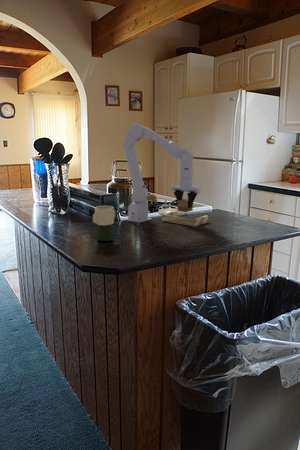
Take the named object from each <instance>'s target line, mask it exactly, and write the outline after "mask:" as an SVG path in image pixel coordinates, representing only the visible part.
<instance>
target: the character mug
mask: <svg viewBox="0 0 300 450" xmlns="http://www.w3.org/2000/svg"><path fill="white" fill-rule="evenodd" d="M115 219H116V210H115V208H114V206H112V205H97V206H95V207H94V214H92V221H93V223H95V224H96V225H98V226H97V231H96V241H101V242H108V241H112V240H114V236H113V235H114V234H113V233H114V232H113V228H112V225H113V224H114V223H115Z"/></svg>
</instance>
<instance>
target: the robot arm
mask: <svg viewBox="0 0 300 450" xmlns="http://www.w3.org/2000/svg"><path fill="white" fill-rule="evenodd" d="M141 139H150V140H152V141H153V142H155V143H157V144H159V145H160V146H162V147H164V148H165V152H166V153H168V154H169V155H171V156H172V157H173V158H175V159H177V160H179V161H180V168H179V185H171V191H173V194H174V197H175V199H176V202H177V203H178V200H181V199H184V198H183V196H184V192H187V193H186V195H187V199H188V208H192V205H193V204H194V201H195V199H196V198H197V196H198V194H200V193H201V188H198V187H193V170H194V169H193V162H194V155H193V153H192V152H191V151H190V150H187V147H183V146H181V145H180V144H179V142H178V141H176V140H175V141H174V140H170V141H169V140H167V138H164V137H163V136H161V135H160V134H158V133H157V132H156V131H154V130H152V129H151V128H149V127H147V126H144V125H142V124H139V123H134V124H132V125H130V127H128V129H127V131H126V134H125V138H124V142H123V149H124V155H125V157H126V161H127V165H128V170H129V175H130V177H131V181H132V182H131V184H132V195H131V196H132V203H130V204H129V205H128V207H127V212H128V213H127V215H128V216H127V219H126V221H129V222H133V223H134V222H135V223H144V222H147V221H151V220H152V217H151V218H150V217H149V201H148V200H147V198H146V197H147V196H148V195H149V189H148V188H147V187H146V186H145V182H144V180H143V176H142V172H141V169H140V162H139V159H138V155H137V150H136V145H137V144H138V142H139V141H140V140H141Z"/></svg>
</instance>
